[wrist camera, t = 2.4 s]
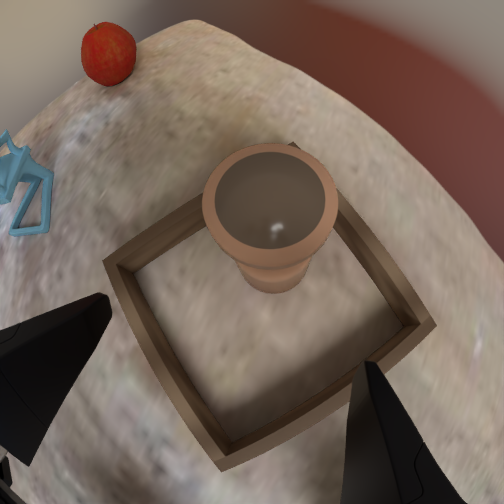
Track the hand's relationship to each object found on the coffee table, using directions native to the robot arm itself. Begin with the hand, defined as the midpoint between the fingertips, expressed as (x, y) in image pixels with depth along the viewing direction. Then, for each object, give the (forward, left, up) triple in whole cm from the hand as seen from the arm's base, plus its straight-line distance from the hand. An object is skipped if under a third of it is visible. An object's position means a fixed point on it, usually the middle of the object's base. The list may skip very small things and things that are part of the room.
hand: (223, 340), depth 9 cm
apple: (+40, -2, -12) cm, 42 cm away
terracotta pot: (+4, -5, -12) cm, 14 cm away
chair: (+26, +15, -12) cm, 32 cm away
